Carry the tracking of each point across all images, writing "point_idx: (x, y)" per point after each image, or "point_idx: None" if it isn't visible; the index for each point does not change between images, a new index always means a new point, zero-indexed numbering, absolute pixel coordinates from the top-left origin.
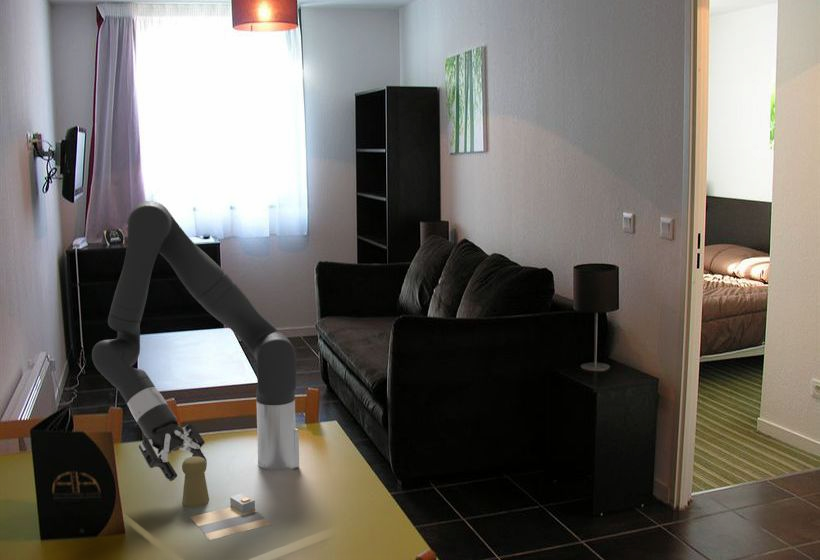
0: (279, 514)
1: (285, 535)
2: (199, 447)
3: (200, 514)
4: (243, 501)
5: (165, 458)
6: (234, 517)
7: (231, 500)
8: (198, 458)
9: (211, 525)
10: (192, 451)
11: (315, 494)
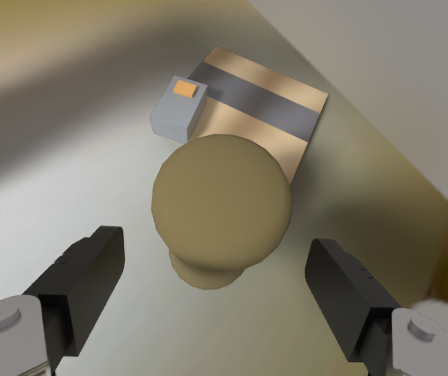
0: (153, 70)
1: (219, 34)
2: (6, 301)
3: None
4: (197, 86)
5: (413, 336)
6: (231, 106)
7: (189, 129)
8: (211, 158)
9: (287, 122)
10: (52, 362)
11: (30, 56)
